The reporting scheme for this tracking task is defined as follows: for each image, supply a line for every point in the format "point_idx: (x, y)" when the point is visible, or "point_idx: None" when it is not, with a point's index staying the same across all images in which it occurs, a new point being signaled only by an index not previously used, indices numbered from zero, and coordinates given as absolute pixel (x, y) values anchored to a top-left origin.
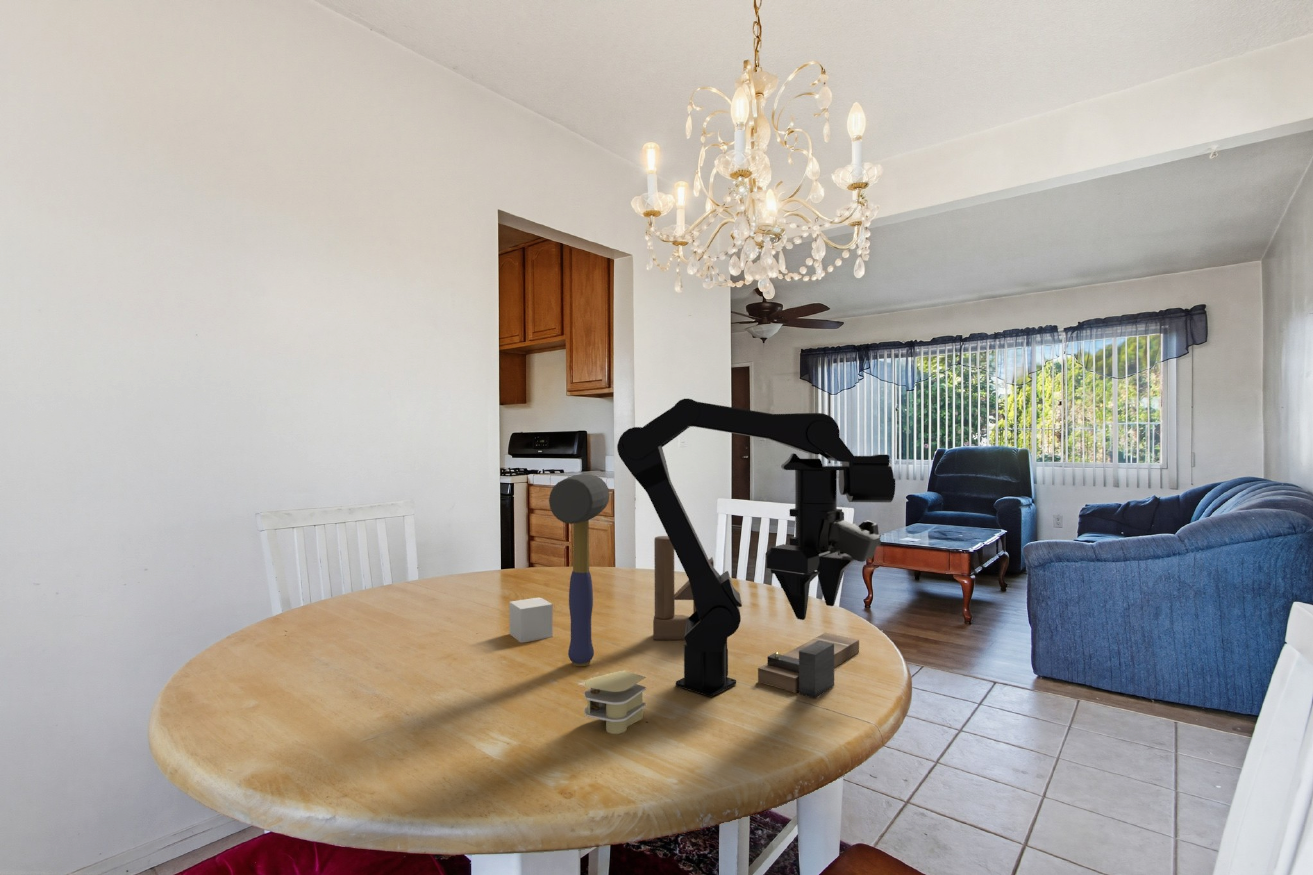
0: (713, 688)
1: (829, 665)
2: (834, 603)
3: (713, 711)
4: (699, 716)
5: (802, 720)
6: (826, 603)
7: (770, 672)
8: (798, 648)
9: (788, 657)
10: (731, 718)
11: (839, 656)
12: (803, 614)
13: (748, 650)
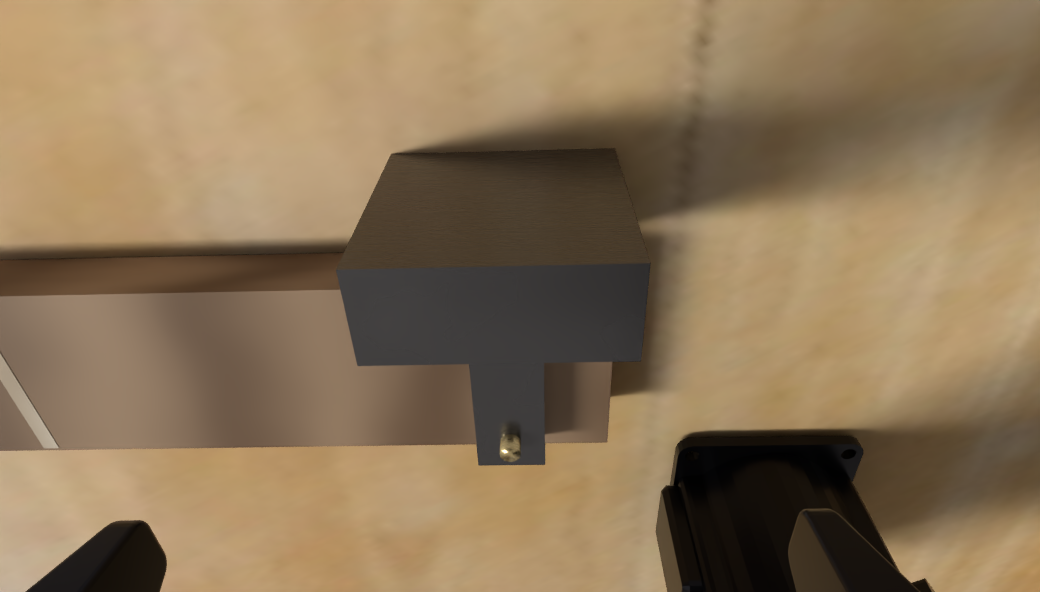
0: (810, 461)
1: (434, 205)
2: (98, 535)
3: (969, 375)
4: (1034, 385)
5: (903, 72)
6: (159, 575)
7: (609, 390)
8: (245, 438)
9: (484, 402)
10: (1009, 303)
11: (102, 279)
12: (880, 557)
13: (339, 549)
